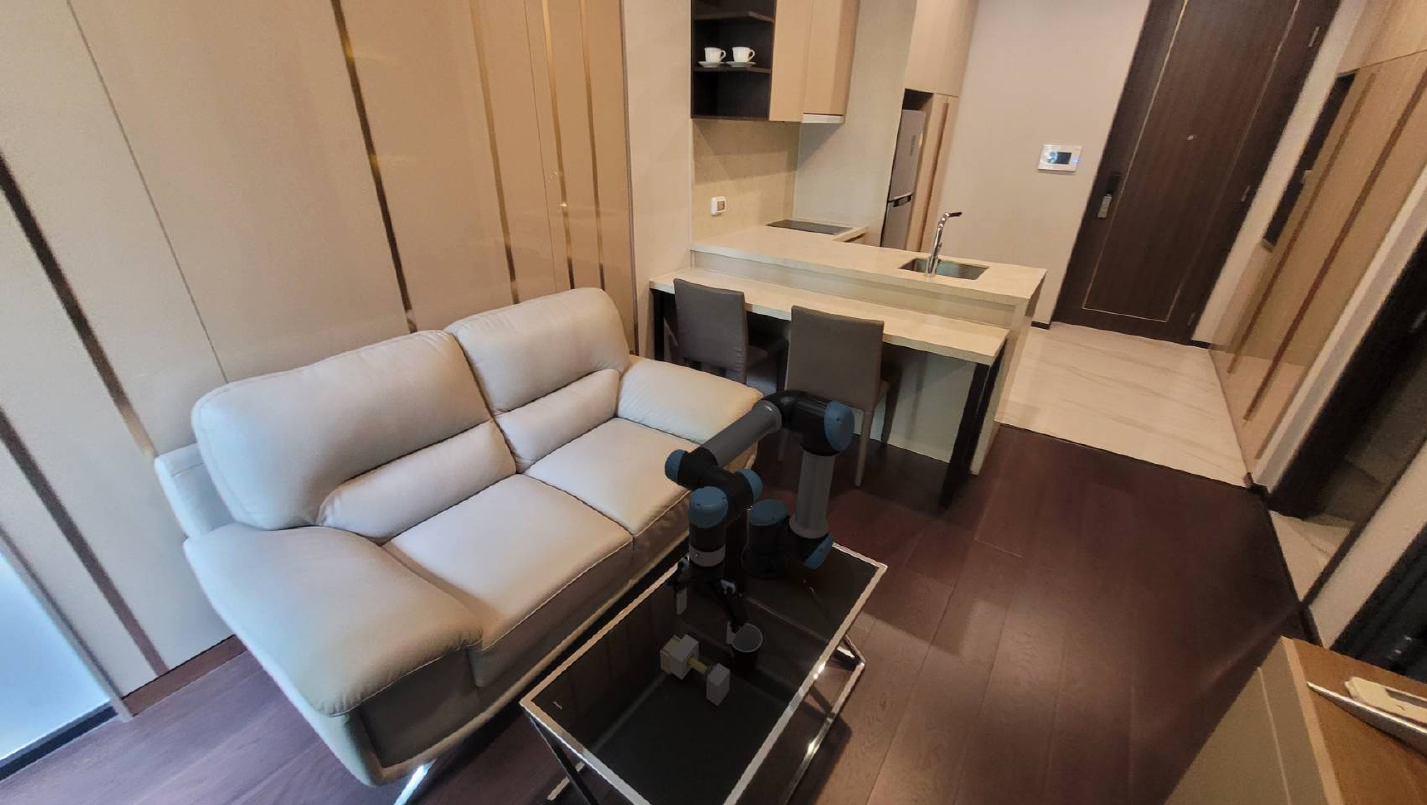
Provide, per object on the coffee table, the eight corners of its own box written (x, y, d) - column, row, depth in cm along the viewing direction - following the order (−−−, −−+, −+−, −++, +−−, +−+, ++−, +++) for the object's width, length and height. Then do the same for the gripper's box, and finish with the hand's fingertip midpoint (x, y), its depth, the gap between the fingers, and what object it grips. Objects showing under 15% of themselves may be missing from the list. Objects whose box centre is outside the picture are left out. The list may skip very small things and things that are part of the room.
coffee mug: (757, 680, 136) (760, 655, 131) (725, 673, 137) (726, 648, 132) (763, 641, 146) (765, 617, 141) (732, 636, 147) (734, 611, 142)
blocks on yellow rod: (660, 668, 138) (660, 648, 134) (675, 652, 142) (674, 632, 139) (716, 707, 129) (717, 687, 125) (730, 689, 133) (731, 669, 130)
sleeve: (669, 671, 135) (669, 653, 131) (686, 651, 140) (686, 634, 136) (682, 679, 133) (681, 662, 129) (698, 659, 138) (698, 642, 134)
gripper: (649, 541, 111) (652, 609, 121) (749, 594, 99) (744, 665, 109) (670, 521, 117) (672, 588, 127) (768, 569, 105) (762, 639, 115)
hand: (705, 624), depth 118 cm, fingers open, 13 cm apart
